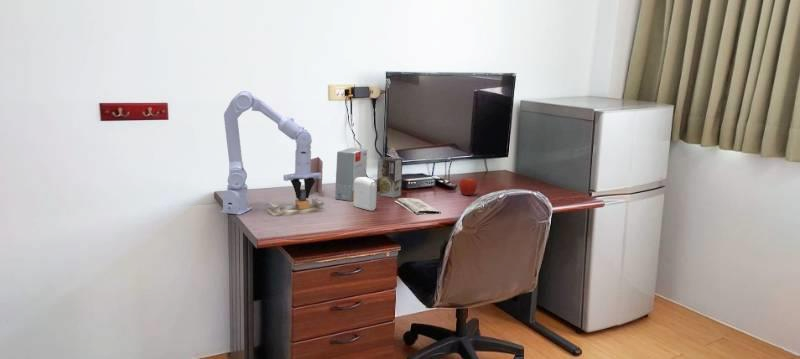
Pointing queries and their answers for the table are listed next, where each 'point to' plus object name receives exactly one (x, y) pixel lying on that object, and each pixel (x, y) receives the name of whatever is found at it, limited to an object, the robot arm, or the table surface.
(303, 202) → the carriage
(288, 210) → the rail
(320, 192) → the greeting card
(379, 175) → the coffee box
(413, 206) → the newspaper
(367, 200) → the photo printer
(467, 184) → the apple
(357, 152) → the hard drive box
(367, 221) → the table surface
